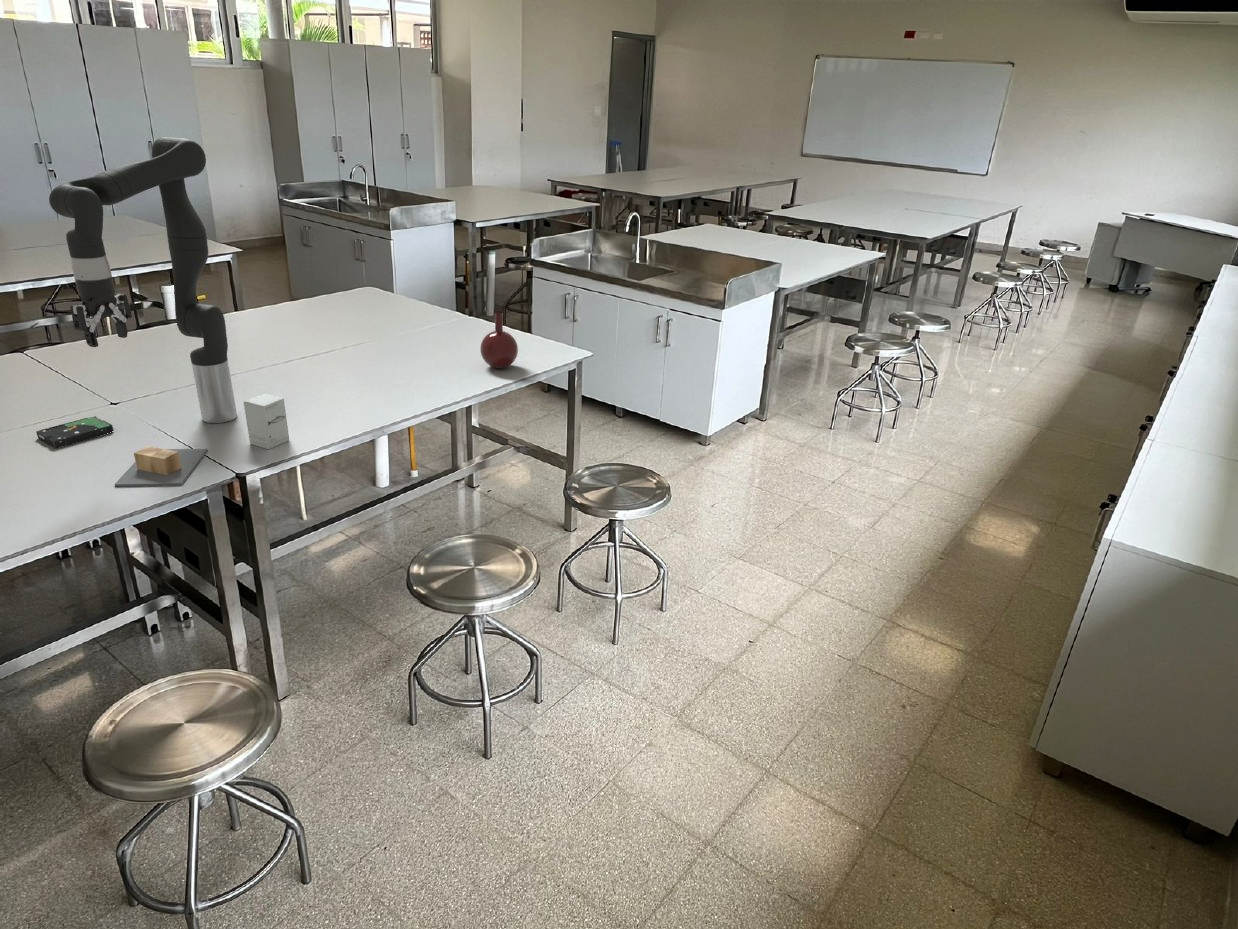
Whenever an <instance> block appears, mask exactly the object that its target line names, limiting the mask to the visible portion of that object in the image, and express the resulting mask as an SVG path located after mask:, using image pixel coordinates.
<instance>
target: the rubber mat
mask: <svg viewBox="0 0 1238 929" xmlns="http://www.w3.org/2000/svg"><path fill="white" fill-rule="evenodd" d="M166 449H167V450H172V451H177V452H178V453H179V458H180V463H181V468H180V469H178V470H177V471H175V472H173V473H171V474H169V475H164V474H159V473H153V472H148V471H143V470H138V469H137V465H136V461H135V460H134V462H133V464H131V466H130V467H129V468H128V469H127V470H126V471H125V472H124V473H123V474H122V475H121V476H120V478H119V479H118V480H117V481H116V482H115V483H114V484H113V485H114V487H115V486H123V487H161V486H163V487H164V486H168V487H169V486H171V487H172V486H183V484H184V483H185V482H186V481H187V479H189V477H190V475H191V474H192V473H193V471H194V470H195V469H196V467H197V466H198V465H199V464H200V462H201V461H202V459H203V458H204V456H205V455H206V454H207V453H208V451H209V450H208V449H209V448H176V449H175V448H166Z"/></svg>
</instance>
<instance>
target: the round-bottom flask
mask: <svg viewBox="0 0 1238 929" xmlns="http://www.w3.org/2000/svg"><path fill="white" fill-rule="evenodd" d="M503 315H504V312H503V311H500V310H496V311H494V330H493V331H490V332H489V333H487V334H486V335H485V336H484V337H483V338H482V340H481V343H480V348H479V349H480V356H481V358H482V360H483V361H484V362H485V364H486V365H488V366H490V367H492V368H494V369H504V368H507V367H509V366H511V365H512V364H513V363H514V362H515V361H516V359H517V357H518V353H519V348H518V343H517V340H516V339H515V338H514V337H513V335H512V334H510V333H509V332H506V331H504V329H503V328H504V327H503V324H504V323H503V317H504V316H503Z"/></svg>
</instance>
